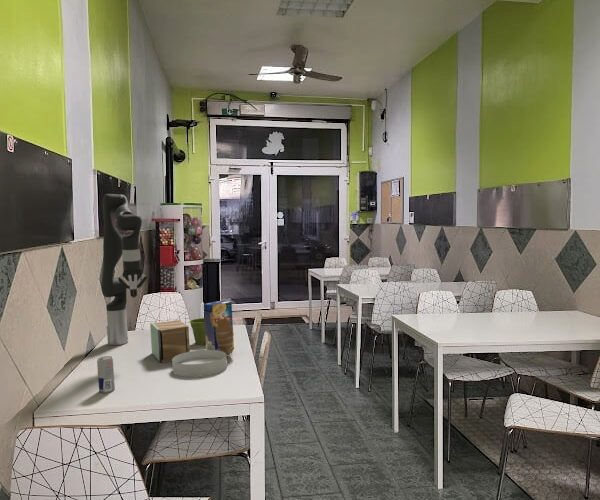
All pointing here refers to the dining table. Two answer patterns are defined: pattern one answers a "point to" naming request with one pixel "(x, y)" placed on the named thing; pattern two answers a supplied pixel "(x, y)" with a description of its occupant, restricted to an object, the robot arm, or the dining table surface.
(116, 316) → the robot arm
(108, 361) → the energy drink
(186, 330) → the oak storage box
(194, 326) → the plant pot
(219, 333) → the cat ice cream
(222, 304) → the beverage box
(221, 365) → the dish
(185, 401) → the dining table surface
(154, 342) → the box flap
